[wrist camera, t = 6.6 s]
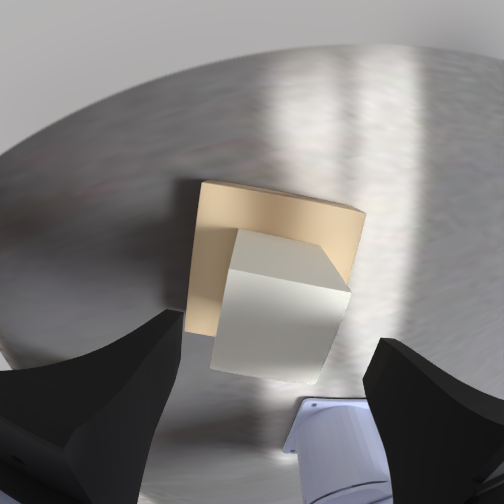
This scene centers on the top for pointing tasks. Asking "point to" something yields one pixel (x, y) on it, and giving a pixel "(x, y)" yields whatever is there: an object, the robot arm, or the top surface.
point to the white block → (278, 309)
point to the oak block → (263, 221)
